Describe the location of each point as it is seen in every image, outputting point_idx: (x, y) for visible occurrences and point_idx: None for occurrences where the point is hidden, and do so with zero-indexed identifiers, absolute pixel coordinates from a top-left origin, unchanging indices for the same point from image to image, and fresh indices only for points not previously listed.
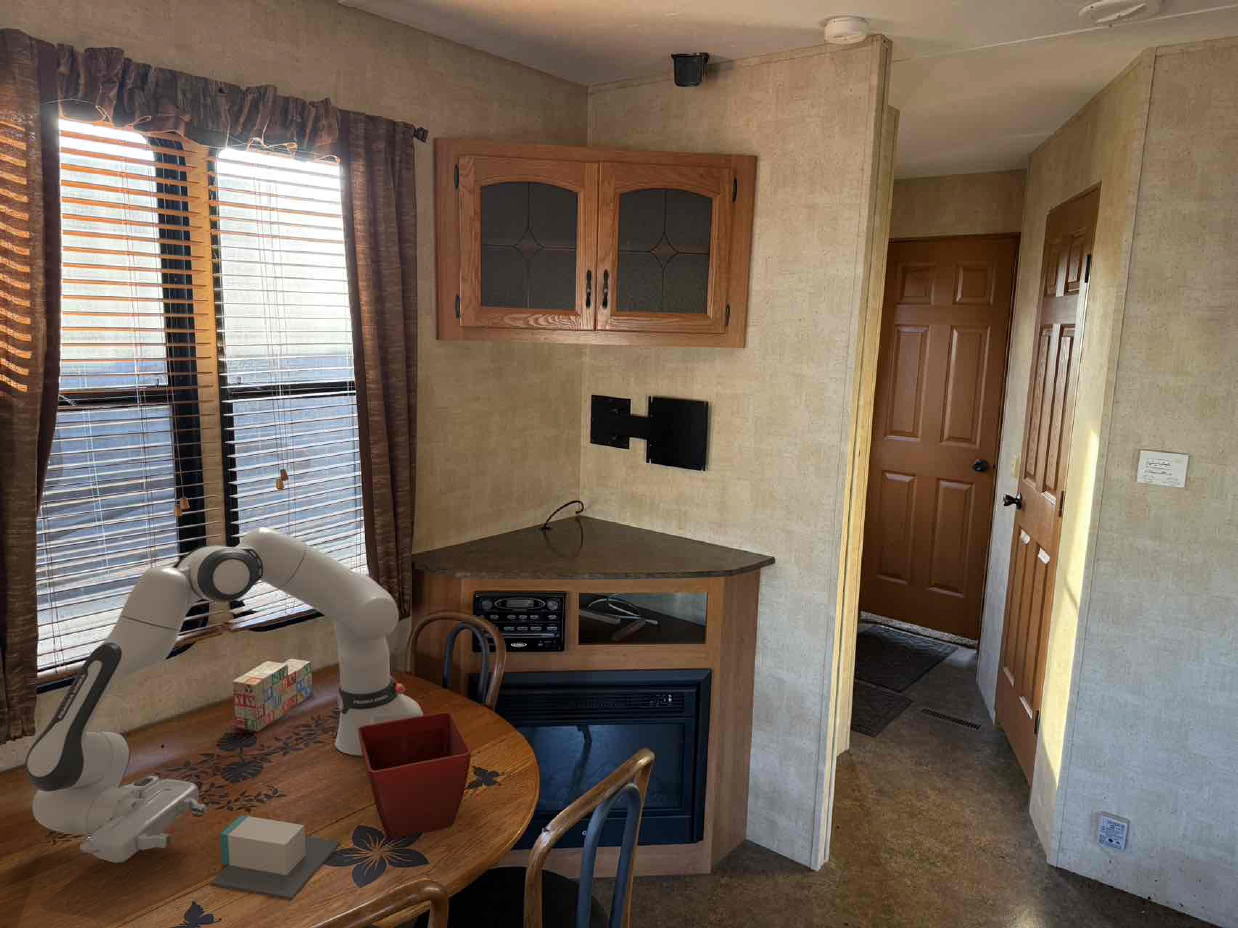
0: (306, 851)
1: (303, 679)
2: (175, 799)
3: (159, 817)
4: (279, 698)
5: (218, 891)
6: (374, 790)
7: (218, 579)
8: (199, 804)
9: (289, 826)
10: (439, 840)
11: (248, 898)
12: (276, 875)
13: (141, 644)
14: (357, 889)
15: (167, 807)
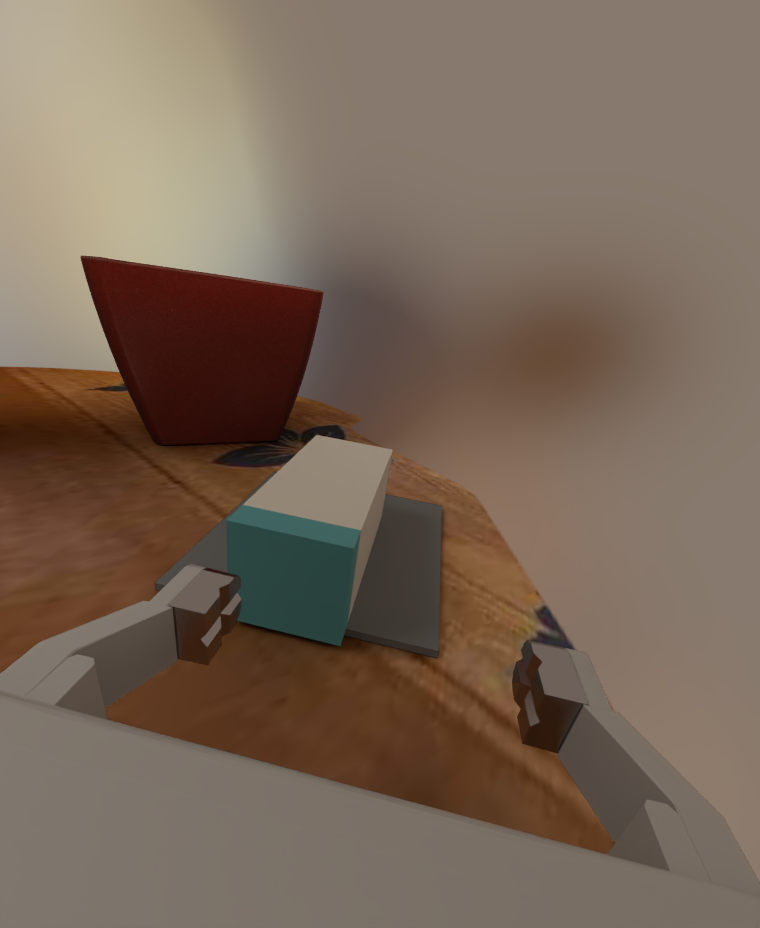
0: None
1: None
2: (40, 747)
3: (389, 800)
4: None
5: (456, 626)
6: (312, 335)
7: None
8: (174, 588)
9: (319, 447)
10: (288, 418)
11: (459, 563)
12: (383, 530)
13: None
14: (398, 462)
15: (214, 773)
